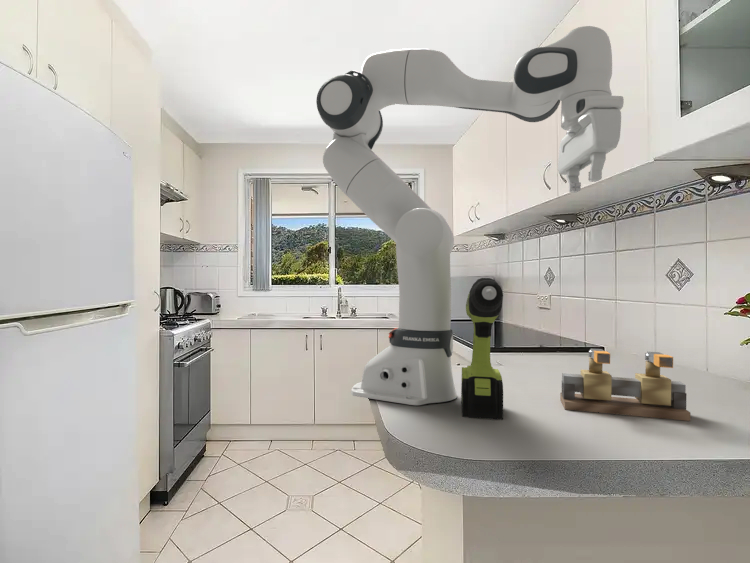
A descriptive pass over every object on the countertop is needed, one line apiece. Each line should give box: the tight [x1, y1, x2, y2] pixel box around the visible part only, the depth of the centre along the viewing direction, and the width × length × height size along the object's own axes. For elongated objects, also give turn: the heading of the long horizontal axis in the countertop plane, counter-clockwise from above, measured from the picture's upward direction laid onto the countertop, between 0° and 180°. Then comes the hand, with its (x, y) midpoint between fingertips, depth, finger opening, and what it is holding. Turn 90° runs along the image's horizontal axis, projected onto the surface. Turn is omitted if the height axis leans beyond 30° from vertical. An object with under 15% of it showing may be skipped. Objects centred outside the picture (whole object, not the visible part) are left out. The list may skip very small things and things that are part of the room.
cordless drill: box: [460, 277, 504, 420], centre depth 81 cm, size 23×7×25 cm, turn 170°
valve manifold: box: [559, 357, 691, 422], centre depth 88 cm, size 21×8×10 cm, turn 73°
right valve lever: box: [644, 351, 674, 369], centre depth 83 cm, size 9×3×2 cm, turn 163°
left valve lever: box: [588, 348, 611, 365], centre depth 86 cm, size 9×3×2 cm, turn 163°
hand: (584, 186), depth 87 cm, fingers open, 8 cm apart
